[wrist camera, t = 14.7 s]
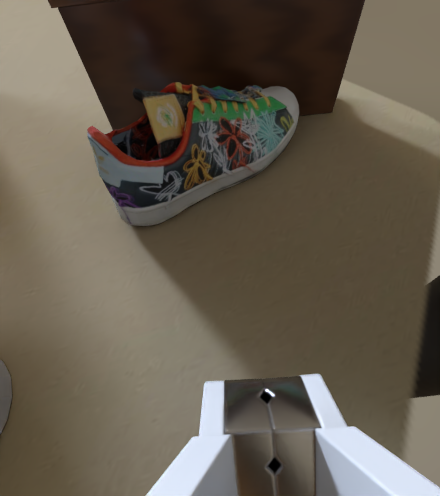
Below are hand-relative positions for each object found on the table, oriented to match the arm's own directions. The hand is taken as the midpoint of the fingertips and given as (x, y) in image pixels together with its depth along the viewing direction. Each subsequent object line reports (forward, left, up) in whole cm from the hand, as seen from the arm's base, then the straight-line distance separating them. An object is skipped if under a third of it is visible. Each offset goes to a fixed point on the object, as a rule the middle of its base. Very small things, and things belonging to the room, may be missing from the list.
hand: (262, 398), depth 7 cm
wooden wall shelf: (0, -32, -11) cm, 34 cm away
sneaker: (+1, -22, -11) cm, 25 cm away
